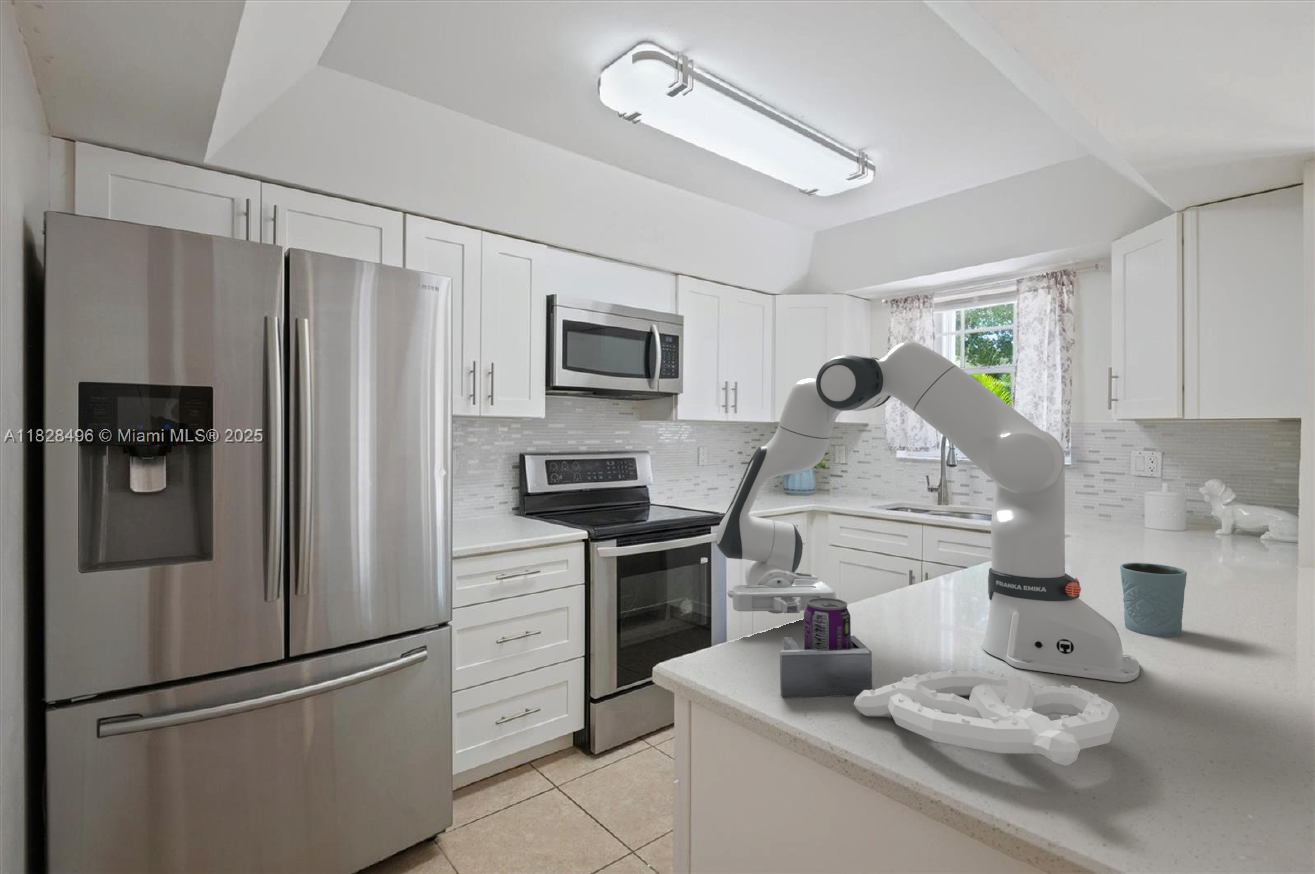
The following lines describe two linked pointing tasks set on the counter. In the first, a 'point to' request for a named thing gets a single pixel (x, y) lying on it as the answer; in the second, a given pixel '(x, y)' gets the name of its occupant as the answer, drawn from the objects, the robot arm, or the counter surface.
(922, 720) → the pretzel
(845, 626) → the beverage can
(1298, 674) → the counter surface
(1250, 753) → the counter surface
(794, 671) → the grey u-shaped holder
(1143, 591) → the teal embossed flower pot
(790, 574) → the robot arm
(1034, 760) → the counter surface
